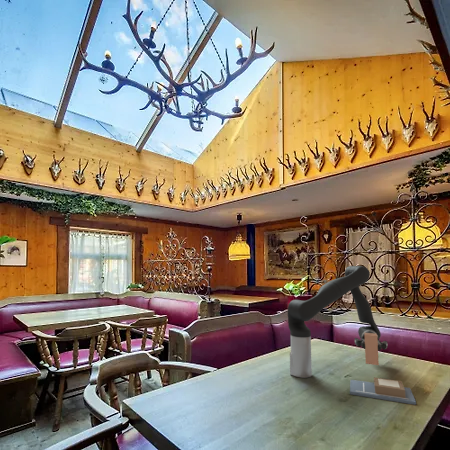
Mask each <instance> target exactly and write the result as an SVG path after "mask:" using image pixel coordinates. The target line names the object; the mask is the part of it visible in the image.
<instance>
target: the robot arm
mask: <svg viewBox="0 0 450 450" xmlns="http://www.w3.org/2000/svg"><path fill="white" fill-rule="evenodd" d="M370 275H371V272H370V270H369V268H368V267H366V266H364V265H348V266H347V267H346V268H345V271H344V276H342V277H339V278H334V279H332V280H329V281H328V282H326V283H324V284H323V285H322V286H320V287H319V289H318V291H317V293H316V295H314V296H313V297H311V298H309V299H307V300H300V299H293V300H291V301H290V302H289V304H288V306H287V324H288V329H289V331H290V332H289V333H290V352H289V369H290V370H289V372H290V373H289V374H290V376H294V377H297V378H303V379H304V378H305V379H306V378H311V377H312V376H313V372H312V371H313V367H312V365H313V363H312V362H313V360H312V337H311V329H310V328H309V327H308V326H307V325H306V323H305V322H309V321H310V320H312V319H313V318H314V317H315V316H317V315H318V314H319V313H320V312H321V311H322V310H324V309H325V308H326V307H328V306H330V305H332V303H335V302H336V301H337V300H339V299H340V298H342V297H343V296H344V295H346V294H348V293H351V297H352V298H353V301H354V304H355V307H356V312H357V316H358V320H359V322H361V324H362V323H363V324H368V325H365V326H364V325H363V326H360V327H359V328H358V331H357V332H358V333H357V334H358V335H359V338H357V337H355V338H354V345H356V346H357V347H361V348H363V350H365V334H364V333H374V334H377V339H378V352H380V351H381V350H386V349H387V348H388V341H386V340H383V341H382V342H381V340H380V338H381V336H382V334H381V331H380V329H379V327H378V325H377V324H376V322H375V318H374V316H373V312H372V308H371V304H370V303H369V301H368V299H367V298H366V297H365V295H364V294H363V292H362V291H361V288H360V286H361V285H365V284H366V282H368V281H369V279H370V277H371V276H370Z"/></svg>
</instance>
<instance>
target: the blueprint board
mask: <svg viewBox="0 0 450 450" xmlns="http://www.w3.org/2000/svg"><path fill="white" fill-rule="evenodd" d="M349 385H350V386H349V395H352V396H353V395H354V396H357V397H358V396H359V397H364V398H365V397H366V398H372V399H378V400H384V401H390V402H397V403H402V404H409V405H414V406H415V405H417V402H416V399H415V396H414V394H413V391H412V389H411V388H410V387H405V386H404V384H403V381H402V380H396V379H388V378H383V377H382V378H381V377H373V382H371V381H365V380H357V379H356V380H355V379H350V384H349Z"/></svg>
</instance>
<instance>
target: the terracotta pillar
mask: <svg viewBox="0 0 450 450" xmlns="http://www.w3.org/2000/svg"><path fill="white" fill-rule="evenodd" d="M364 334H365V349H364V351H365V352H364V355H365V364H367V365H375V366H379V365H380V363H379V351H378V339H377V334H374V333H364Z"/></svg>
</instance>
